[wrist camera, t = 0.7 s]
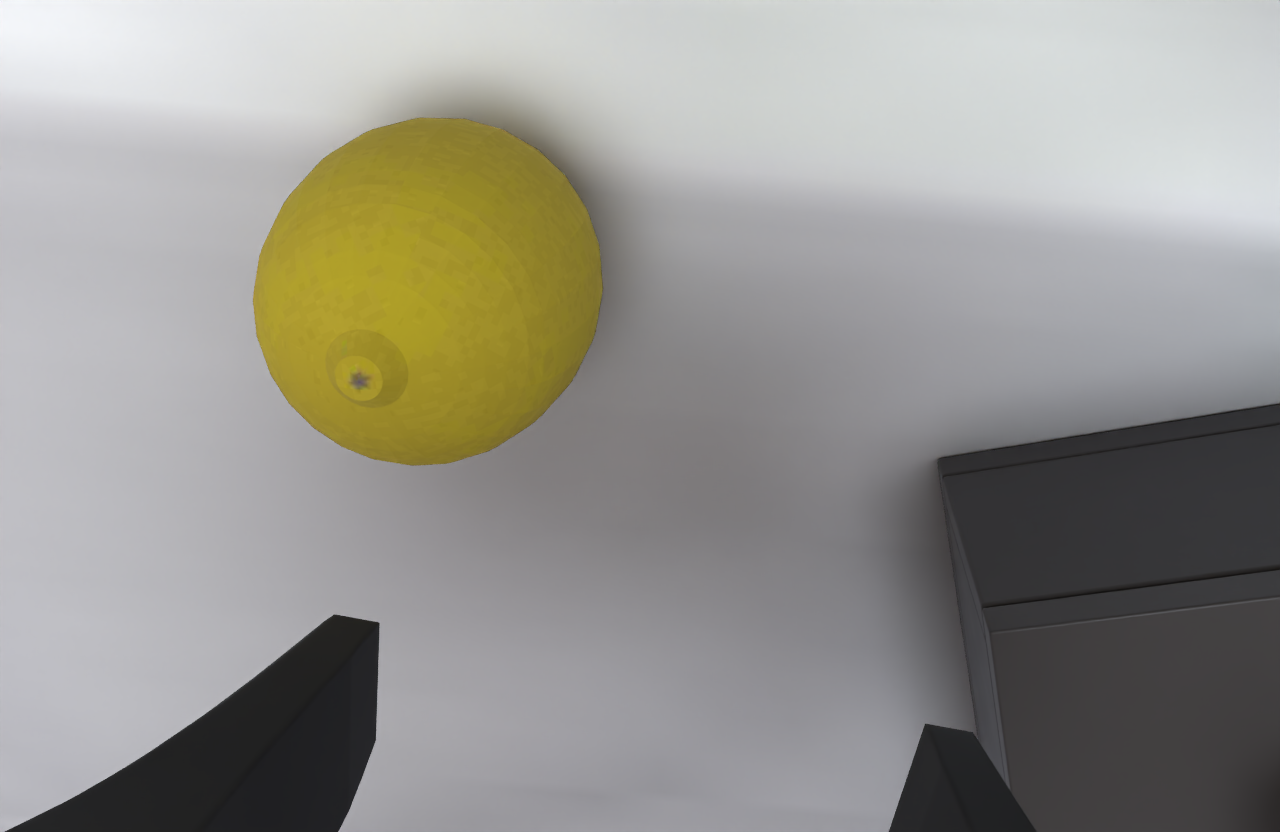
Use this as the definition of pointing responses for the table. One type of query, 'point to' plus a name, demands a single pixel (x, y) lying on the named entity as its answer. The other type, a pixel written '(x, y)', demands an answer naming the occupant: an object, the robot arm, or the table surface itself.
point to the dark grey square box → (1107, 520)
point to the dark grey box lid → (1143, 707)
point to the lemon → (428, 291)
